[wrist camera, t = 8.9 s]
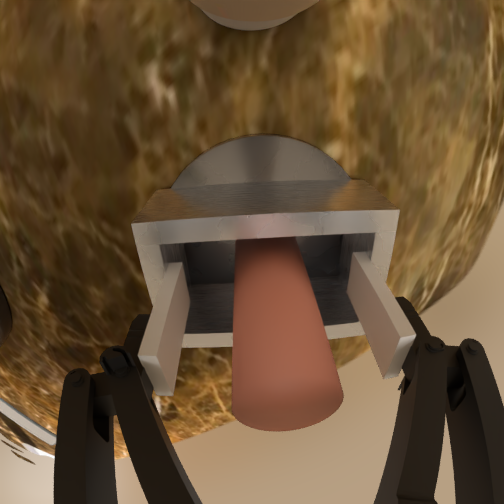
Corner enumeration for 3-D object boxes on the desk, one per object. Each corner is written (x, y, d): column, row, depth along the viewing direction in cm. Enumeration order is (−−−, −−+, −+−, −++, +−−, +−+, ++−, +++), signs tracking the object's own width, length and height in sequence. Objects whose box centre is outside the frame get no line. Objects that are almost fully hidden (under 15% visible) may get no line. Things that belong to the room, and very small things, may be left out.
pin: (237, 272, 21) (236, 433, 11) (233, 218, 19) (225, 379, 9) (295, 268, 21) (334, 425, 11) (296, 215, 19) (353, 368, 9)
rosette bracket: (180, 317, 24) (169, 374, 19) (147, 144, 17) (109, 168, 12) (348, 306, 24) (370, 360, 19) (368, 134, 17) (414, 155, 12)
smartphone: (-3, 397, 35) (62, 441, 40) (-1, 393, 36) (63, 437, 41) (-6, 406, 37) (51, 446, 43) (-4, 403, 38) (53, 442, 44)
